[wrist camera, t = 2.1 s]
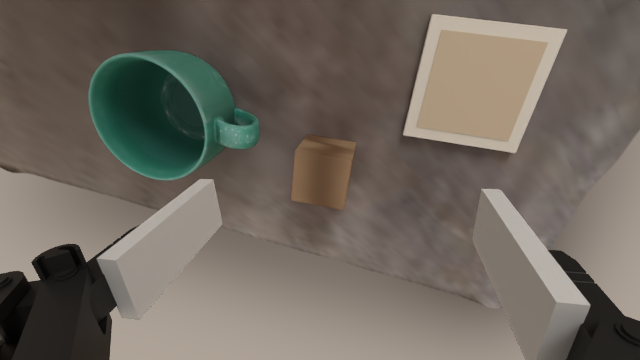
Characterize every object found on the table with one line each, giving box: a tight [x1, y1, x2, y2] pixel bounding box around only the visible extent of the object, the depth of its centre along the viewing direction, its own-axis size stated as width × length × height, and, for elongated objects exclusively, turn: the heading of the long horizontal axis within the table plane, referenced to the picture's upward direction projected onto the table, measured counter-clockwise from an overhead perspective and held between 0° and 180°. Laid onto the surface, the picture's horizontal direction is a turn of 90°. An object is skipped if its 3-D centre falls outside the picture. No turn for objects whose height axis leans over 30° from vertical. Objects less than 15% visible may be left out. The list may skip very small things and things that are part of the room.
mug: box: [88, 50, 260, 181], centre depth 34 cm, size 17×13×10 cm
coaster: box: [403, 14, 567, 153], centre depth 31 cm, size 12×12×1 cm
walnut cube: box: [291, 134, 356, 210], centre depth 36 cm, size 6×6×6 cm
